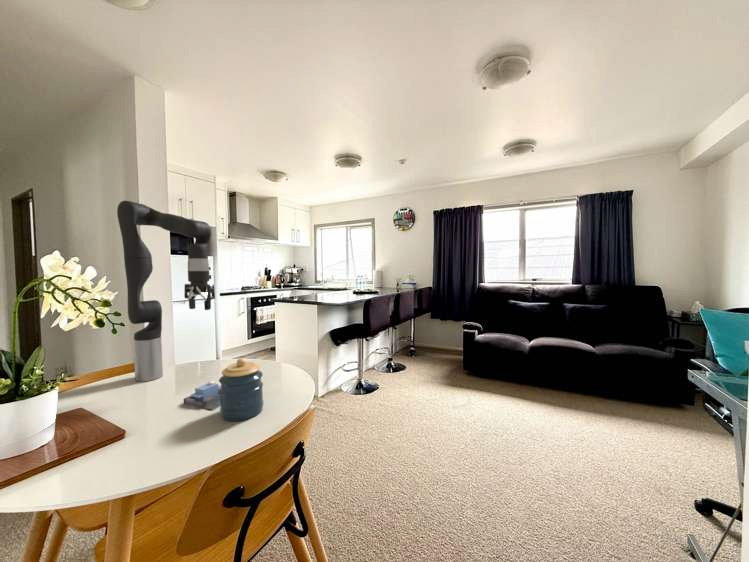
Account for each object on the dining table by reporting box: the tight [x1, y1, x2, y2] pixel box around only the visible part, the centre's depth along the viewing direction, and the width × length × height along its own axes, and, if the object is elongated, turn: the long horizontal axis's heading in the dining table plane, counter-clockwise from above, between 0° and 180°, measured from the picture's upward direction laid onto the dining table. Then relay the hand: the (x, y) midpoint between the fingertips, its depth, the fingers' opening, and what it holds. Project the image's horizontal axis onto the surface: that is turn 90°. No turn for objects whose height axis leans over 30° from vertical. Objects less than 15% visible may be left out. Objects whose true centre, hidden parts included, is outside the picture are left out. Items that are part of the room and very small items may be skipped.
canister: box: [218, 358, 264, 422], centre depth 98 cm, size 13×13×18 cm
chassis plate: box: [183, 389, 221, 411], centre depth 107 cm, size 14×11×2 cm
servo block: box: [190, 380, 221, 401], centre depth 108 cm, size 4×10×6 cm, turn 159°
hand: (200, 309), depth 123 cm, fingers open, 8 cm apart
